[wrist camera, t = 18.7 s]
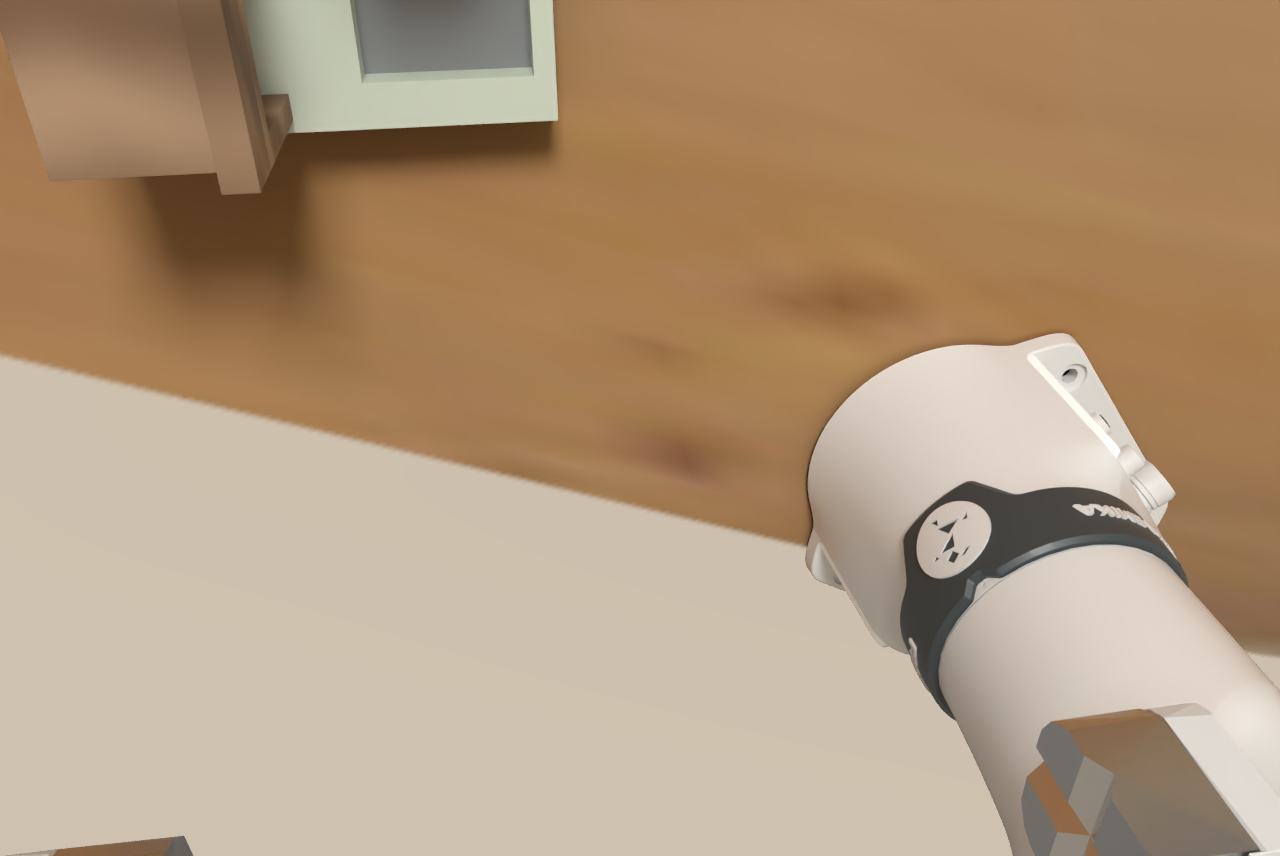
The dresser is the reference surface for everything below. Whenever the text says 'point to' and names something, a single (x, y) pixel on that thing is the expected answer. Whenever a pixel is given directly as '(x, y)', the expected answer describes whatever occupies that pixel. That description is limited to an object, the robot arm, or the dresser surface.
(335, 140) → the dresser surface
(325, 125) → the board
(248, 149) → the brown wooden piece
